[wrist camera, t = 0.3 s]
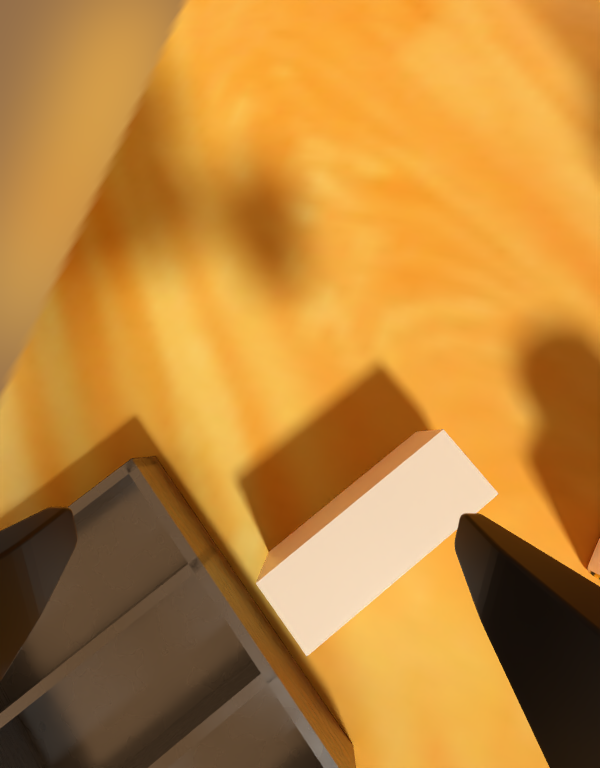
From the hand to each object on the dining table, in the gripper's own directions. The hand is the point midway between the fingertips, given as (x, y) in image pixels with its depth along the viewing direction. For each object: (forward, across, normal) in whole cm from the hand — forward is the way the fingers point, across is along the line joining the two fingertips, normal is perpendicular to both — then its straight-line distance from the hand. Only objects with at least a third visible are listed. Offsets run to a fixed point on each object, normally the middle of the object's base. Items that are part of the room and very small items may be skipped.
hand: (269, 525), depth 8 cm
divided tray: (+8, +8, +18) cm, 21 cm away
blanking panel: (+12, -5, +9) cm, 16 cm away
